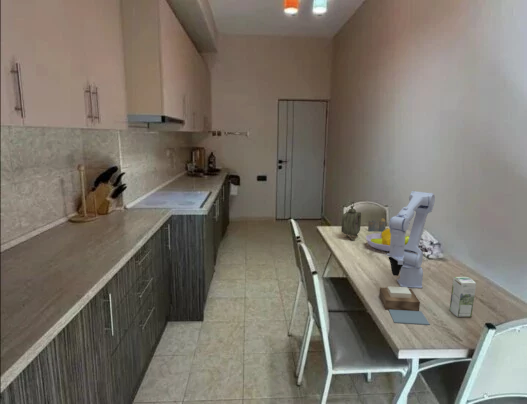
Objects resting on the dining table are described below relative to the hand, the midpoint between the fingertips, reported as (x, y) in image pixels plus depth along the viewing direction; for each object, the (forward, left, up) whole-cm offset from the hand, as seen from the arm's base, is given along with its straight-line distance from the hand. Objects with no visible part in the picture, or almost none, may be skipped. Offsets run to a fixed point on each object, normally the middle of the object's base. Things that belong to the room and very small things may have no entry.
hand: (395, 274), depth 152 cm
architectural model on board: (-12, -104, -10) cm, 105 cm away
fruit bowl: (-12, -64, -10) cm, 66 cm away
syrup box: (-22, +14, -10) cm, 28 cm away
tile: (0, +8, -5) cm, 10 cm away
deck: (0, +8, -9) cm, 12 cm away
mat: (-1, +19, -9) cm, 21 cm away
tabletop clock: (+9, -83, -10) cm, 84 cm away
